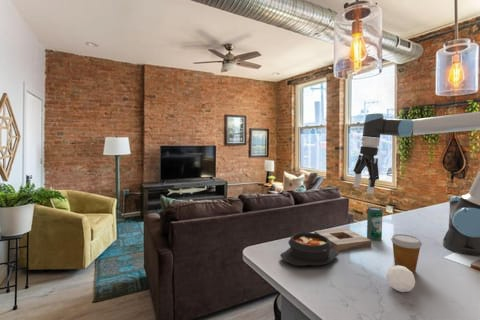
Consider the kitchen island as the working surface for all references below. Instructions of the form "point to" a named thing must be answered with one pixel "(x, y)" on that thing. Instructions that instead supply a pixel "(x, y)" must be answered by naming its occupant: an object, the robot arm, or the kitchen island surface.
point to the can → (374, 223)
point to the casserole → (309, 250)
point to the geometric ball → (400, 278)
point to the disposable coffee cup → (406, 250)
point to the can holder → (349, 241)
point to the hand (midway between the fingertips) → (362, 190)
